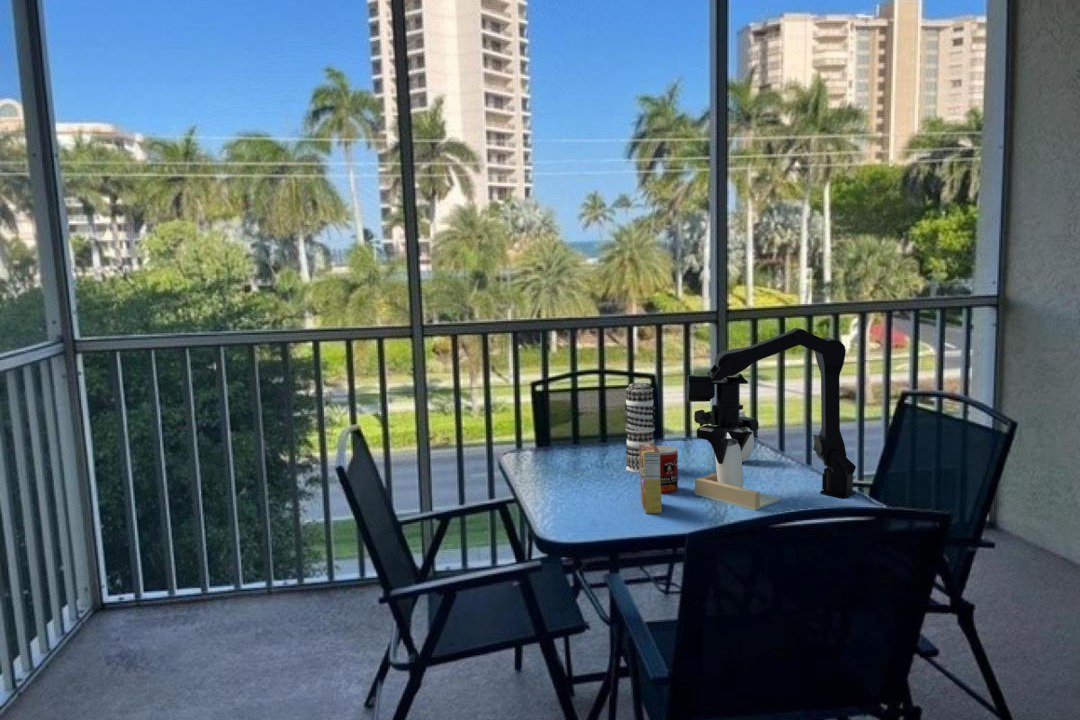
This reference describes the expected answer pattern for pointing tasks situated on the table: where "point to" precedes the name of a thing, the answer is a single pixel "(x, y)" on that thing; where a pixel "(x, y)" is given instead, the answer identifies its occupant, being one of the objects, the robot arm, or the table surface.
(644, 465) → the candy box
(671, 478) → the canned food
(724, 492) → the cleat board
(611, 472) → the table surface
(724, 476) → the can
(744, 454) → the sauce bottle
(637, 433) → the decorative candle
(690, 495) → the table surface
